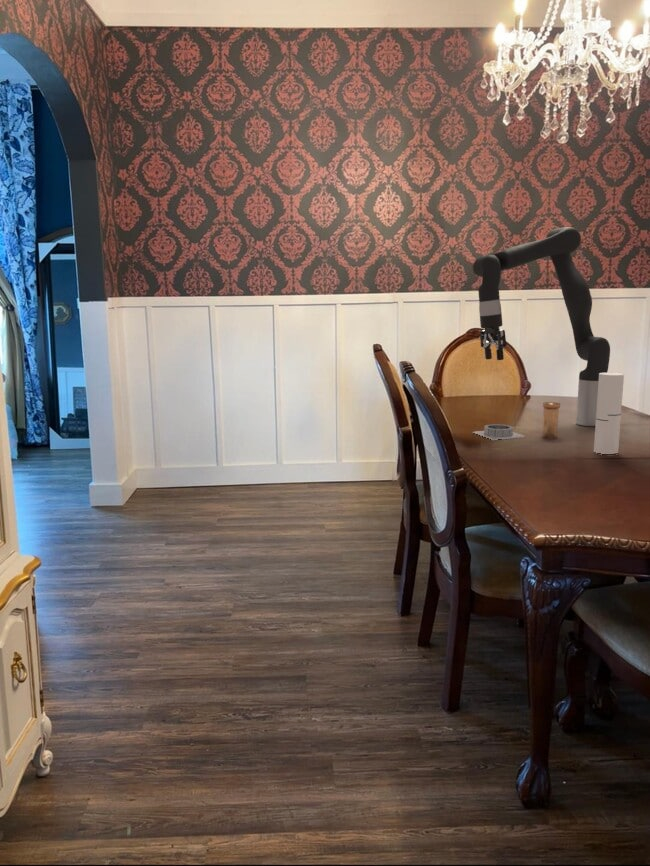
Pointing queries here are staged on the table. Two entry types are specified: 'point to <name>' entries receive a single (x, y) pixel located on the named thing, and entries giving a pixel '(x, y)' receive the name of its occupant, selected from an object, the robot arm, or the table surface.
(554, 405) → the copper pipe
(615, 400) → the cylindrical container
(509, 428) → the duct collar
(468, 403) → the table surface
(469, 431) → the table surface
